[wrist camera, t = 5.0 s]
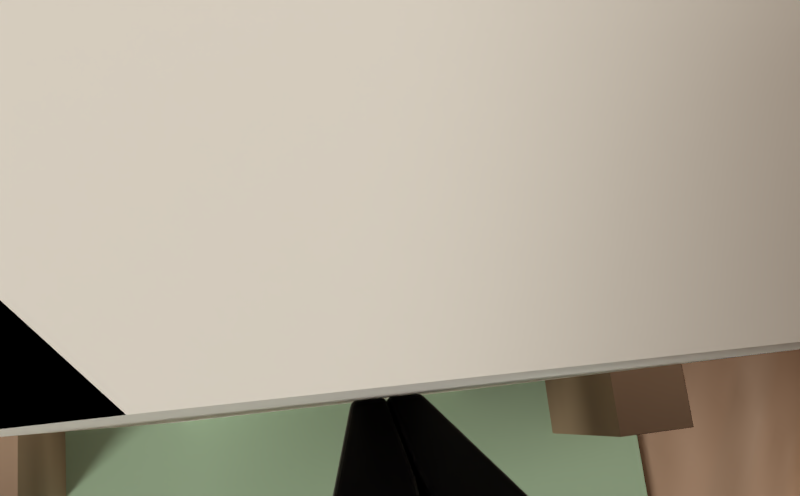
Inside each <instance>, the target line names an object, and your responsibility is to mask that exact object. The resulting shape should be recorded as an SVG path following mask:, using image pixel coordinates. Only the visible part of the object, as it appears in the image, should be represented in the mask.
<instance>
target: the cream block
mask: <svg viewBox="0 0 800 496" xmlns="http://www.w3.org/2000/svg"><path fill="white" fill-rule="evenodd" d="M797 349H800V0H0V437H5V436H17V435H30V434H42V433H54V432H67V431H79V430H91V429H104V428H116V427H128V426H141V425H153V424H165V423H177V422H186V421H195V420H204V419H213V418H222V417H231V416H240V415H249V414H258V413H266V412H275V411H284V410H293V409H302V408H311V407H320V406H329V405H338V404H347V403H352V402H353V401H357V400H366V399H375V398H384V399H388V398H389V397H393V396H402V395H411V394H420V395H427V394H436V393H444V392H453V391H462V390H470V389H479V388H487V387H495V386H503V385H511V384H520V383H528V382H536V381H544V380H552V379H560V378H569V377H577V376H585V375H593V374H601V373H609V372H618V371H626V370H634V369H642V368H650V367H659V366H667V365H675V364H683V363H691V362H699V361H708V360H716V359H724V358H732V357H740V356H748V355H757V354H765V353H773V352H781V351H789V350H797Z"/></svg>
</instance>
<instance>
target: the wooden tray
mask: <svg viewBox="0 0 800 496" xmlns="http://www.w3.org/2000/svg"><path fill="white" fill-rule="evenodd" d="M545 385H546V392H547V398H548V405H549V412H550V418H551V425H552V431H553V433H555V434H574V435H592V436H611V437H625V436H632V435H640V434H647V433H654V432H661V431H669V430H676V429H683V428H691V427H694V426H693V421H692V416H691V411H690V406H689V401H688V395H687V390H686V385H685V380H684V375H683V369H682V364H675V365H667V366H659V367H650V368H642V369H634V370H626V371H618V372H609V373H601V374H593V375H585V376H577V377H569V378H560V379H552V380H545ZM0 496H66V441H65V432H54V433H42V434H30V435H17V436H5V437H0Z"/></svg>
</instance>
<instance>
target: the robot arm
mask: <svg viewBox="0 0 800 496" xmlns="http://www.w3.org/2000/svg"><path fill="white" fill-rule="evenodd" d="M333 496H528V495H527V494H526V493H525V492H524V491H523V490H522V489H520V488H519V487H518V486H517V485H516V484H515V483H514V482H513V481H512V480H511V479H510V478H509V477H508V476H507V475H506V474H505V473H504V472H503V471H502V470H501V469H500V468H498V467H497V466H496V465H495V464H494V463H493V462H492V461H491V460H490V459H489V458H488V457H487V456H486V455H485V454H484V453H483V452H482V451H481V450H480V449H479V448H478V447H477V446H475V445H474V444H473V443H472V442H471V441H470V440H469V439H468V438H467V437H466V436H465V435H464V434H463V433H462V432H461V431H460V430H459V429H458V428H457V427H456V426H455V425H453V424H452V423H451V422H450V421H449V420H448V419H447V418H446V417H445V416H444V415H443V414H442V413H441V412H440V411H439V410H438V409H437V408H436V407H435V406H434V405H433V404H431V403H430V402H429V401H428V400H427V399H426V398H425V397H424V396H422V395H420V394H411V395H402V396H393V397H389V398H388V399H387V401H386V400H385V399H384V398H375V399H366V400H357V401H353V402H352V404H351V406H350V410H349V415H348V420H347V425H346V430H345V436H344V441H343V446H342V451H341V456H340V461H339V466H338V471H337V476H336V481H335V486H334V491H333Z"/></svg>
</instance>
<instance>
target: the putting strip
mask: <svg viewBox="0 0 800 496" xmlns="http://www.w3.org/2000/svg"><path fill="white" fill-rule="evenodd" d="M422 396H424V397H425V398H426V399H427V400H428V401H429V402H430V403H431V404H433V405H434V406H435V407H436V408H437V409H438V410H439V411H440V412H441V413H442V414H443V415H444V416H445V417H446V418H447V419H448V420H449V421H450V422H451V423H452V424H453V425H455V426H456V427H457V428H458V429H459V430H460V431H461V432H462V433H463V434H464V435H465V436H466V437H467V438H468V439H469V440H470V441H471V442H472V443H473V444H474V445H475V446H477V447H478V448H479V449H480V450H481V451H482V452H483V453H484V454H485V455H486V456H487V457H488V458H489V459H490V460H491V461H492V462H493V463H494V464H495V465H496V466H497V467H498V468H500V469H501V470H502V471H503V472H504V473H505V474H506V475H507V476H508V477H509V478H510V479H511V480H512V481H513V482H514V483H515V484H516V485H517V486H518V487H519V488H520V489H522V490H523V491H524V492H525V493H526V494H527V495H528V496H647V490H646V484H645V479H644V473H643V467H642V462H641V456H640V450H639V445H638V439H637V435H632V436H625V437H611V436H592V435H574V434H555V433H553V431H552V425H551V418H550V412H549V405H548V398H547V392H546V385H545V380H544V381H536V382H528V383H520V384H511V385H503V386H495V387H487V388H479V389H470V390H462V391H453V392H444V393H436V394H427V395H422ZM385 400H386V401H387V399H385ZM351 404H352V403H347V404H338V405H329V406H320V407H311V408H302V409H293V410H284V411H275V412H266V413H258V414H249V415H240V416H231V417H222V418H213V419H204V420H195V421H186V422H177V423H165V424H153V425H141V426H128V427H116V428H104V429H91V430H79V431H67V432H65V441H66V496H333V491H334V486H335V481H336V476H337V471H338V466H339V461H340V456H341V451H342V446H343V441H344V436H345V430H346V425H347V420H348V415H349V410H350V406H351Z"/></svg>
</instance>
